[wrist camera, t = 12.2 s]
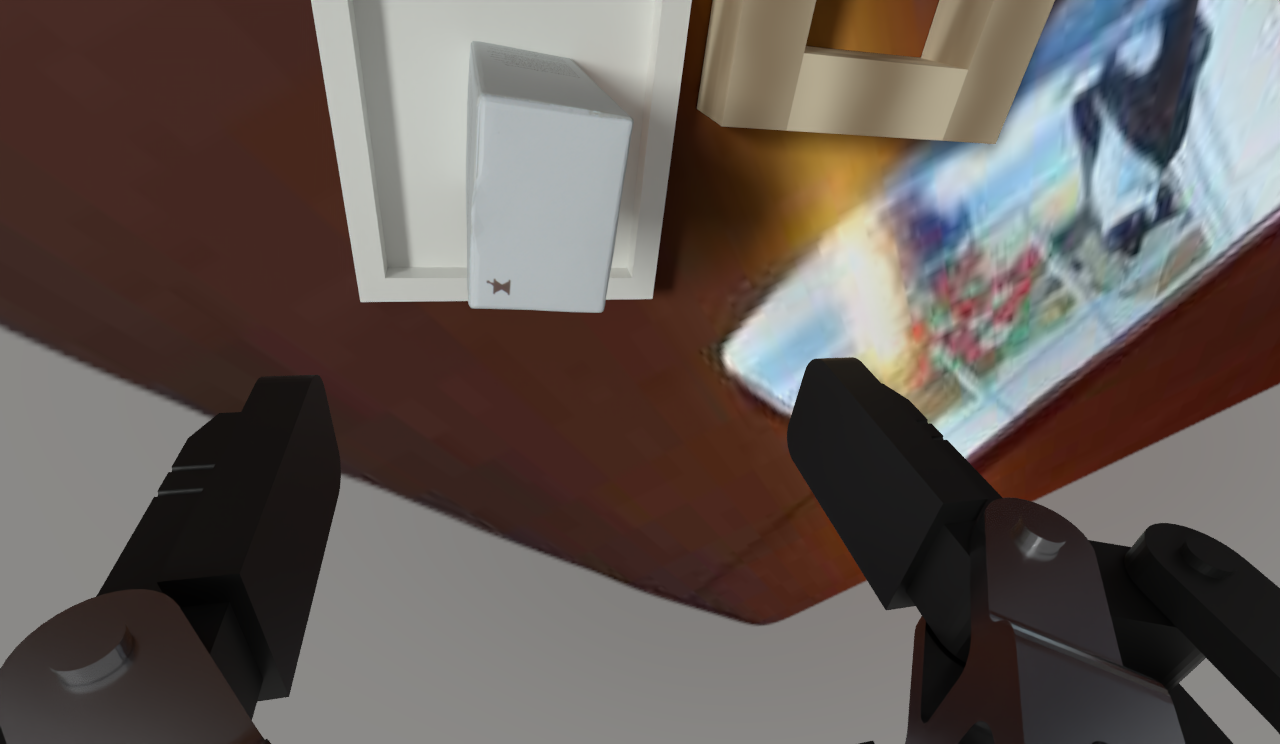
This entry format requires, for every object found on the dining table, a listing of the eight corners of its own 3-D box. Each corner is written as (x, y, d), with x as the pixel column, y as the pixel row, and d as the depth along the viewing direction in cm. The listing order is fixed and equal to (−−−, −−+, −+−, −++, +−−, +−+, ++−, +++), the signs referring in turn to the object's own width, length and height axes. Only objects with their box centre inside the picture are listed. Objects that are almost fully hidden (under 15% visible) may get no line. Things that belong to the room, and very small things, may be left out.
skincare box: (558, 195, 29) (604, 321, 19) (464, 185, 27) (463, 314, 18) (574, 52, 25) (640, 117, 16) (469, 34, 24) (470, 91, 15)
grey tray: (688, -82, 24) (702, -84, 23) (644, 283, 33) (652, 298, 32) (299, -142, 21) (286, -148, 19) (365, 284, 30) (360, 302, 28)
